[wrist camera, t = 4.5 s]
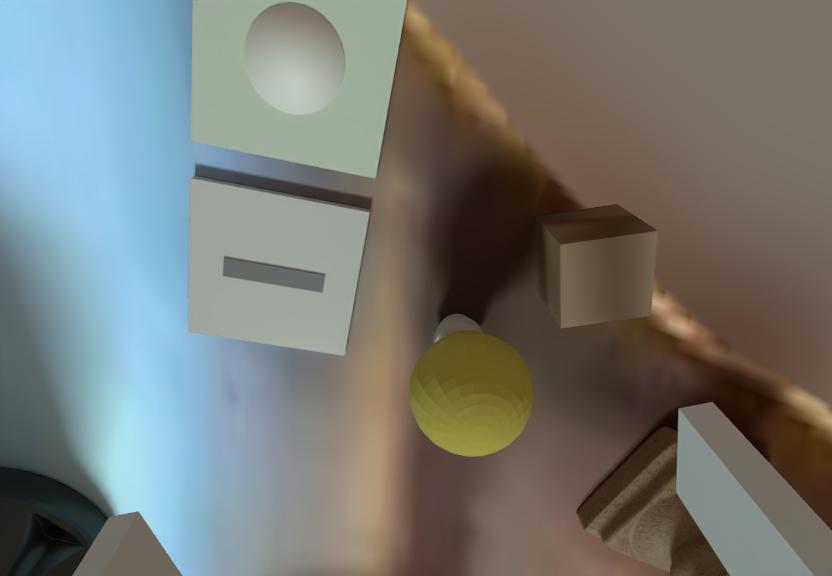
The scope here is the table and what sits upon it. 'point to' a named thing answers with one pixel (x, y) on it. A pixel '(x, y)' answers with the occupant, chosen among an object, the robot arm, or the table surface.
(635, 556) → the candle holder
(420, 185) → the table surface
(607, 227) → the walnut block
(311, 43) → the pad
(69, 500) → the robot arm
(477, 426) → the light bulb
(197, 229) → the pad
